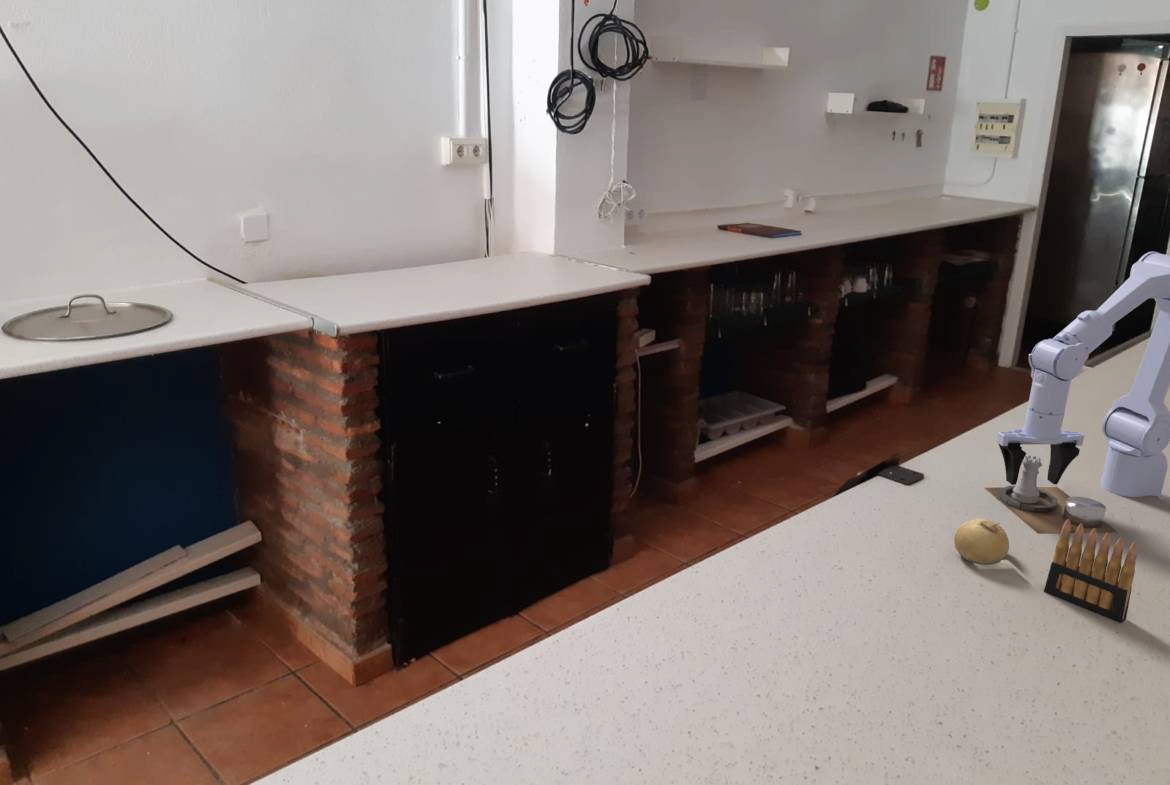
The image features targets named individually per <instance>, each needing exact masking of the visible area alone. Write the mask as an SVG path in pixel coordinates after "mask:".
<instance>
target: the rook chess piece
mask: <svg viewBox="0 0 1170 785" xmlns="http://www.w3.org/2000/svg"><path fill="white" fill-rule="evenodd" d="M1041 461H1042V460H1041V458H1040V457H1037V456H1035V455H1033V456H1031V455H1029V454H1028V455H1026V456H1025V457H1024V459H1023V461H1022V468H1021V476H1020V478H1019V482H1018V483H1016V485H1015V486H1016V487H1014V489H1013V492H1014V493H1012V497H1013V499H1014V500H1016V501H1018V502H1020V503H1024V504H1035V503H1036V502H1038V501H1039V499H1038V496H1039V491H1038V488H1037V487H1038V486H1037V481H1038V480H1037V478H1038V475H1039V474H1040V472H1039V469H1040V468H1041V467H1042V466H1043V464H1042V462H1041Z"/></svg>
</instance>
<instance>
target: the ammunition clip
mask: <svg viewBox="0 0 1170 785" xmlns="http://www.w3.org/2000/svg"><path fill="white" fill-rule="evenodd" d="M1070 531H1071V524H1070V520H1069V519H1067V520H1066V522H1065V523H1064V525H1063V528H1062V530H1061V533H1059V534H1060V535H1059V538H1058V541H1057V543H1056V546H1055V549H1054V555H1053V560H1052V561H1051V564H1050V568H1049V571H1048V575H1047V579H1046V582H1045V586H1044V590H1043V593H1045V594H1048V596H1049V595H1050V596H1052V597H1055V598H1057V599H1059V600H1062V601H1064V602H1067V603H1070V604H1072V605H1074V606H1077V607H1079V608H1081V609H1084V610H1086V611H1088V612H1091V613H1094V614H1096V615H1098V616H1102V617H1104V618H1106V619H1108V620H1111V621H1113V622H1114V623H1115V622H1116V623H1118V624H1121V623H1123V622H1124V621H1125V620H1127V615H1128V611H1129V606H1130V599H1131V594H1132V588H1133V587H1132V586H1133V582H1134V578H1135V572H1136V570H1135V568H1136V561H1137V557H1138V556H1137V555H1138V545H1137V542H1136V541H1134V542H1133V543H1132V544H1131V545H1130V547H1129V548H1128V550H1127V552H1126V556H1125V559H1124V562H1123V566H1122V560H1123V554H1124V539H1123V537H1119V538H1118V539H1117V541H1116V542H1115V544H1114V547H1113V550H1112V553H1111V556H1110V560H1109V552H1110V547H1111V536H1110V533H1105V534H1104V536H1103V537H1102V539H1101V541H1100V545H1099V547H1098V550H1097V554H1095V552H1096V546H1097V540H1098V537H1097V536H1098V533H1097V532H1096V529H1095V528H1093V530H1092V531H1091V533H1088V537H1087V540H1086V543H1085V546H1084V549H1082V548H1083V541H1084V534H1085V533H1084V529H1083V524H1082V523H1081V524H1080V525H1079V526H1078V528H1077V530H1076V532H1075V533H1073V534H1074V535H1073V538H1072V542H1071V545H1070V537H1071V533H1070Z"/></svg>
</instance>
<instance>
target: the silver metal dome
mask: <svg viewBox="0 0 1170 785" xmlns="http://www.w3.org/2000/svg"><path fill="white" fill-rule="evenodd" d="M1106 511H1107V507H1106V505H1105V504H1103V503H1102V502H1100V501H1098V500H1096V499H1092V498H1088V497H1085V496H1070V497H1069V498H1067V499H1066V504H1065V508H1064V513H1063V518H1064V519H1065V520H1067V519H1069V520H1070V523H1071V524H1073V525H1076V526H1079V525H1080V524H1081V523H1082V524H1083V527H1084V528H1099V527H1101V526H1102V524H1103V521H1104V518H1105V516H1106V515H1105V514H1106Z"/></svg>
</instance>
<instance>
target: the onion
mask: <svg viewBox="0 0 1170 785" xmlns="http://www.w3.org/2000/svg"><path fill="white" fill-rule="evenodd" d="M1000 524H1001V523H1000V522H994V521H992V520H991V519H989V518H983V517H982V518H974V519H970V520H968V521H965V522H963V523H962V524H961V525H959V527H957V529H956V532H955V533H954V538H953V539H954V541H953V542H954V543H953V544H954V548H955V550H956V551H957V552H958V554H959V555H961V557H962V558H963V559H965V560H966V561H968V562H971V563H974V564H978V565H983V566H985V565H987V566H988V565H989V566H990V565H994V564H998V563H1000V562H1001V561H1003V560H1004V559H1005V558H1006V557H1007V555H1008V554H1009V549H1010V540H1009V537H1008V535H1007V533H1006V531H1005V529H1004V528H1003V527H1002V526H1000Z"/></svg>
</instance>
